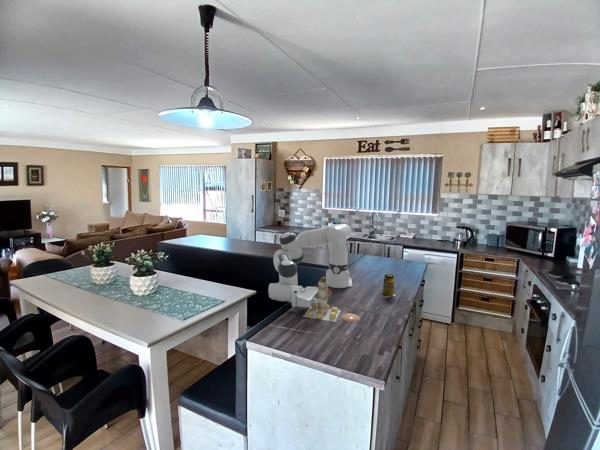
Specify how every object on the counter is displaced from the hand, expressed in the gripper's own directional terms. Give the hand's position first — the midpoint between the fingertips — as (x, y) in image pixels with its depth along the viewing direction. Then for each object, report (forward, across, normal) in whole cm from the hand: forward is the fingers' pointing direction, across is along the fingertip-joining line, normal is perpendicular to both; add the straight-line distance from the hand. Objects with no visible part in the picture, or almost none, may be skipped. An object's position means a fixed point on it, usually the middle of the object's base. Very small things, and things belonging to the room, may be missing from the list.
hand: (324, 298), depth 155 cm
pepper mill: (-1, 0, -8) cm, 8 cm away
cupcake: (-5, -19, -9) cm, 21 cm away
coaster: (+13, 0, -8) cm, 16 cm away
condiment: (+28, -41, -9) cm, 50 cm away
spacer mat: (-1, 0, -8) cm, 9 cm away
